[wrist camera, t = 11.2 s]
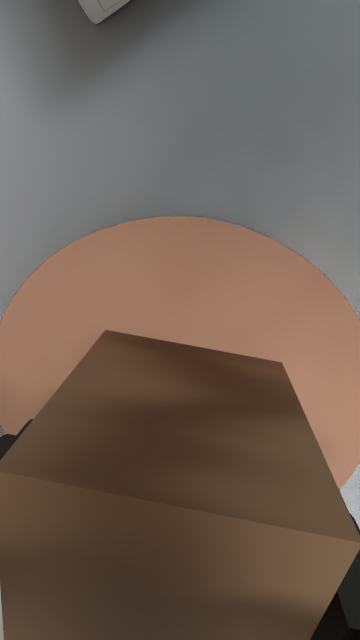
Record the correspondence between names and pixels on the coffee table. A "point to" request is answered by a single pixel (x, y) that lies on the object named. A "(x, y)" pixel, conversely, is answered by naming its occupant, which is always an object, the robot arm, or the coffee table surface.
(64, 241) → the coffee table surface
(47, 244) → the coffee table surface
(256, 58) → the coffee table surface
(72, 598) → the walnut cube
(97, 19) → the light bulb box
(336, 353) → the terracotta coaster
